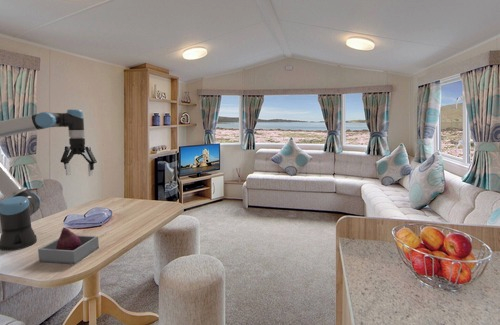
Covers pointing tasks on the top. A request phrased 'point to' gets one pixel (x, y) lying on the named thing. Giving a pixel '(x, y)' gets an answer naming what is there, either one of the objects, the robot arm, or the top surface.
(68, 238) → the vegetable
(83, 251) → the slate bin
